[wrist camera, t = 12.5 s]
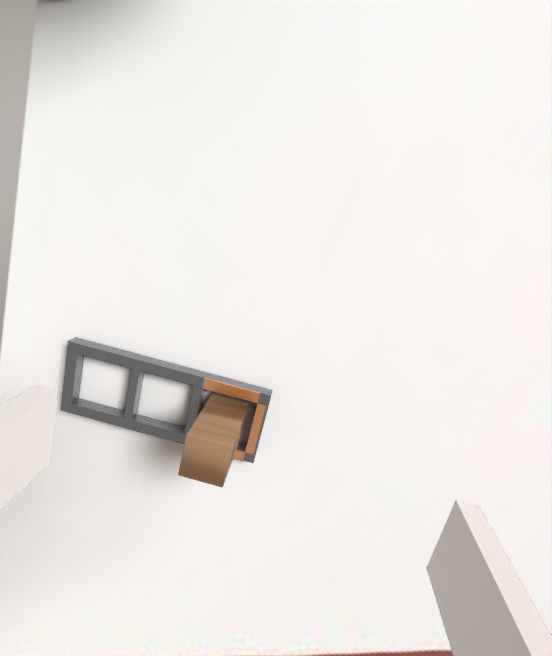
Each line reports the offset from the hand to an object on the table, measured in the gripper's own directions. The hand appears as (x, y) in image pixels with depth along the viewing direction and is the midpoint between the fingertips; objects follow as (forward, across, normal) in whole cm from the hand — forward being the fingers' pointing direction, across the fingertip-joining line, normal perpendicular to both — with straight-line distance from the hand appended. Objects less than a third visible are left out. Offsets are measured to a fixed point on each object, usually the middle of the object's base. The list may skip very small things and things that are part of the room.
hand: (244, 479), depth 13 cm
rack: (+33, -12, -16) cm, 38 cm away
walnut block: (+33, -4, -16) cm, 37 cm away
